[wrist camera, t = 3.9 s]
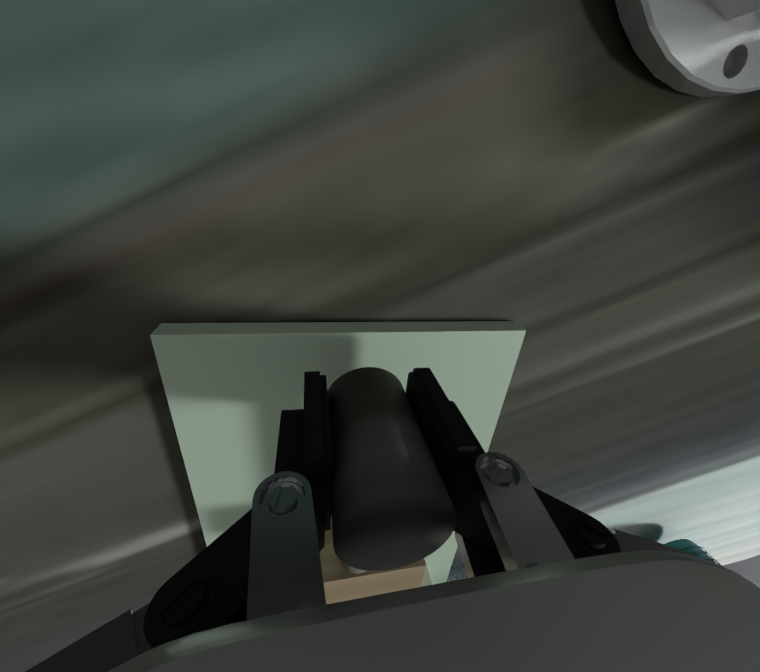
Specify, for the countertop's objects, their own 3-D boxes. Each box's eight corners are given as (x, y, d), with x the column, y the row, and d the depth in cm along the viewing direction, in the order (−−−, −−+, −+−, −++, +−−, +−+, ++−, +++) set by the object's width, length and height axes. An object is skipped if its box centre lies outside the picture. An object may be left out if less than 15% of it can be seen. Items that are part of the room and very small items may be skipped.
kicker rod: (282, 345, 12) (257, 509, 6) (432, 342, 13) (526, 477, 8) (294, 532, 17) (286, 717, 12) (401, 517, 19) (443, 677, 13)
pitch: (161, 323, 12) (149, 335, 11) (513, 321, 15) (526, 330, 14) (238, 634, 23) (235, 652, 23) (432, 597, 27) (436, 611, 26)
